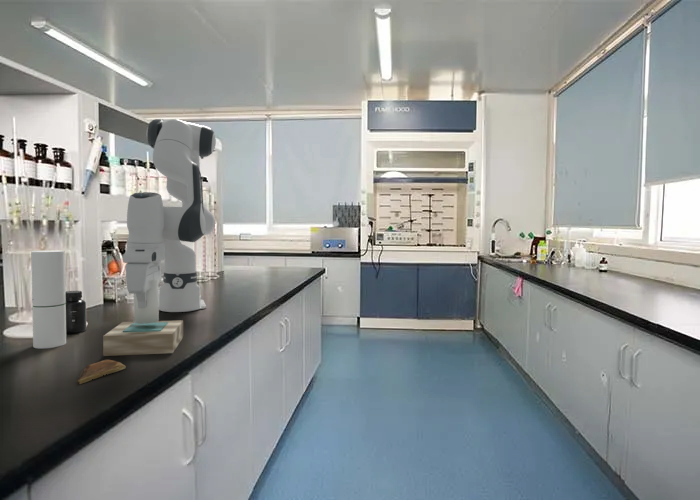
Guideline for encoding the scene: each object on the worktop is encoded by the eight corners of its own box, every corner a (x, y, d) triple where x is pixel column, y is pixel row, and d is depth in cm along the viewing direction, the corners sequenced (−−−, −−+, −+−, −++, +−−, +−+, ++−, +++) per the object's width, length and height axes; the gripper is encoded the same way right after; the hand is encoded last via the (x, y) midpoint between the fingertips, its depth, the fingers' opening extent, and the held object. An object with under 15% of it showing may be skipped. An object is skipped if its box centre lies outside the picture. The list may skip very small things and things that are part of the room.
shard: (77, 387, 83) (77, 378, 83) (55, 380, 87) (54, 372, 87) (126, 371, 93) (126, 363, 93) (105, 365, 96) (105, 358, 96)
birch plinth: (122, 339, 116) (122, 320, 116) (183, 337, 120) (183, 319, 119) (103, 356, 102) (103, 334, 101) (172, 353, 105) (172, 332, 105)
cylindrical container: (63, 339, 115) (61, 250, 114) (68, 345, 110) (67, 251, 109) (31, 344, 110) (29, 250, 109) (35, 350, 105) (33, 252, 104)
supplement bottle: (56, 335, 119) (55, 294, 119) (61, 329, 125) (61, 290, 125) (84, 333, 122) (83, 293, 121) (88, 327, 128) (87, 289, 128)
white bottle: (137, 318, 113) (137, 273, 112) (161, 318, 114) (160, 272, 113) (130, 323, 107) (130, 275, 106) (155, 323, 108) (155, 275, 107)
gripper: (143, 250, 119) (144, 298, 120) (120, 256, 99) (121, 313, 100) (167, 251, 120) (167, 298, 121) (149, 256, 100) (149, 312, 101)
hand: (146, 305), depth 110 cm, fingers closed on white bottle, 6 cm apart
